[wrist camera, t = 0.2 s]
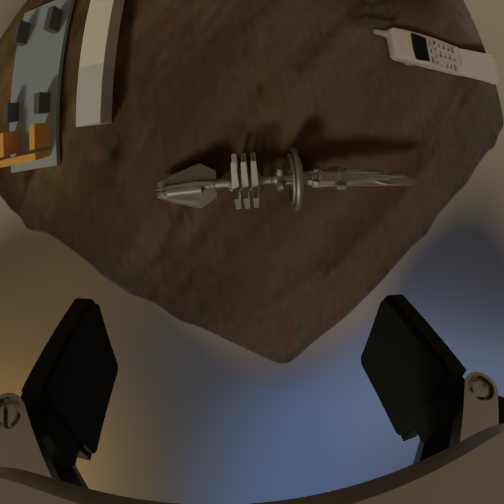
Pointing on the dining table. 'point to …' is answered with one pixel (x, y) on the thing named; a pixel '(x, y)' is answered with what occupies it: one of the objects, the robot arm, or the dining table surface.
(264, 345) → the dining table surface
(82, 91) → the long cream stick
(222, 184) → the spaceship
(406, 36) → the mobile phone
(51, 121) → the clip rail
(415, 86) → the dining table surface
